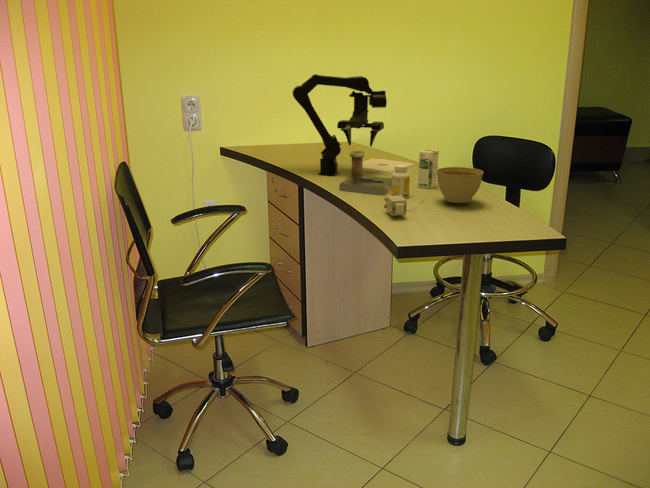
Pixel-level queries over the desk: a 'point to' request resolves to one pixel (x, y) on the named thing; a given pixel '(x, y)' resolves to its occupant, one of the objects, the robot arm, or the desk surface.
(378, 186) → the keyhole plate
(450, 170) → the planter bowl
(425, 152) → the syrup box
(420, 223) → the desk surface
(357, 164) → the walnut peg
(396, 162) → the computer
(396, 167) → the pill bottle
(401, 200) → the electrical component
